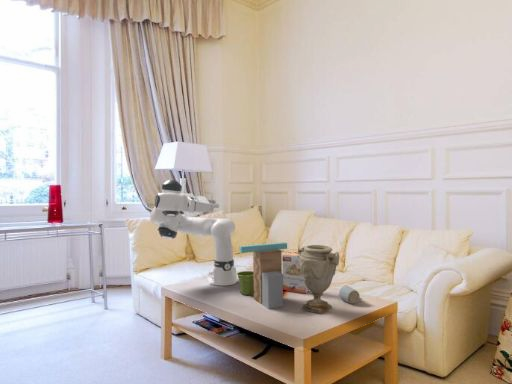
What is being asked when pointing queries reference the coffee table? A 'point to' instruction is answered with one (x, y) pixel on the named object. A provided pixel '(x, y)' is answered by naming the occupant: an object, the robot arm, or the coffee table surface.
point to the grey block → (272, 289)
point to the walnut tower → (265, 268)
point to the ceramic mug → (349, 295)
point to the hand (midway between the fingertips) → (216, 203)
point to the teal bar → (262, 247)
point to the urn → (317, 274)
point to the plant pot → (246, 282)
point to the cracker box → (292, 274)
